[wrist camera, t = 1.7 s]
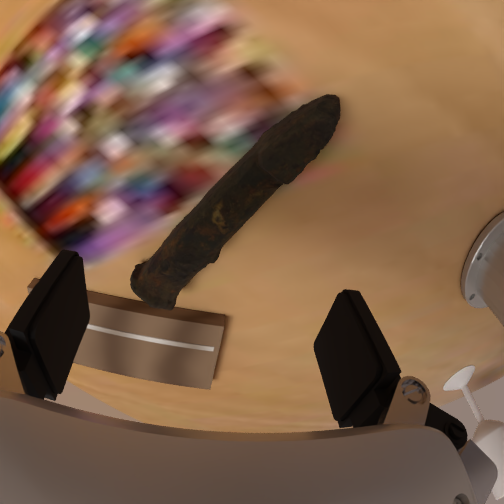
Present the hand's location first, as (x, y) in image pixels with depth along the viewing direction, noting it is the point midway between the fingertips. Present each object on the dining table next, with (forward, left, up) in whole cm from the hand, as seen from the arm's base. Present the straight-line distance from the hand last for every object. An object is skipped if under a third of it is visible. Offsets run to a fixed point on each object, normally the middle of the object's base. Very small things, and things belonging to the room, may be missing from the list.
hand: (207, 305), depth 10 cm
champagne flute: (-43, +22, -12) cm, 49 cm away
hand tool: (0, 0, -12) cm, 12 cm away
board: (+7, +16, -12) cm, 21 cm away
